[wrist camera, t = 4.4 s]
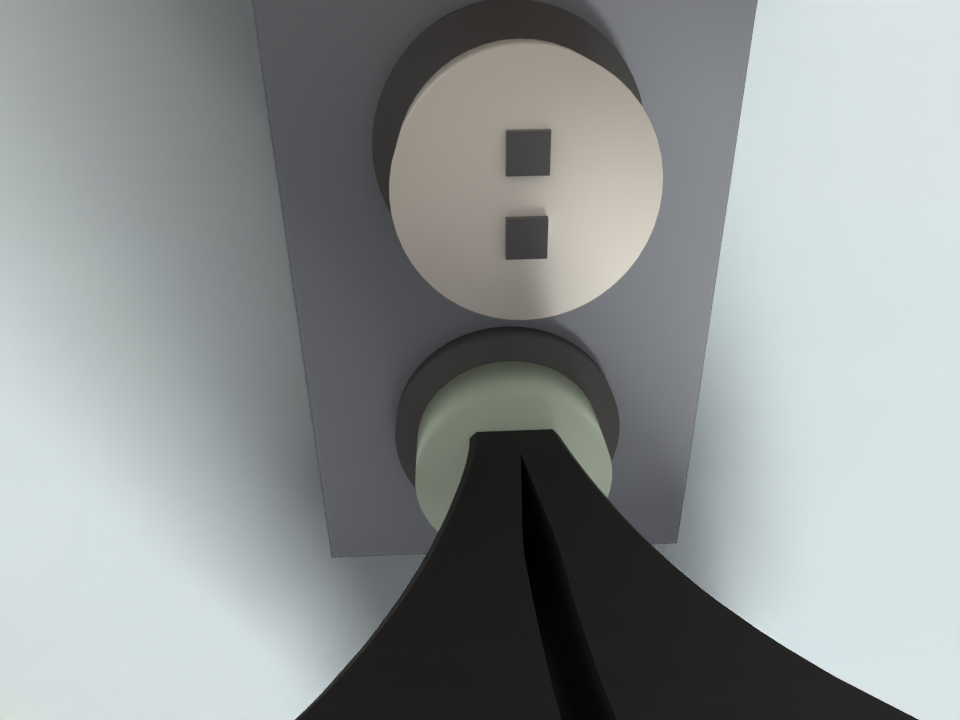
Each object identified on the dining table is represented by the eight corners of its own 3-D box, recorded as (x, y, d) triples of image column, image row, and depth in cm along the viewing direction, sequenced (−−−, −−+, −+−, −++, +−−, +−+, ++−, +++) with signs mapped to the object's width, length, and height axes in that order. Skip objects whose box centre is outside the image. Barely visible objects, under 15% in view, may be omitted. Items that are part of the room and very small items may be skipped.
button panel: (657, 496, 16) (682, 556, 14) (341, 508, 16) (328, 571, 14) (793, -571, 9) (877, -703, 7) (201, -577, 8) (140, -716, 7)
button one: (592, 508, 14) (606, 557, 12) (422, 515, 14) (420, 565, 12) (604, 358, 12) (621, 397, 11) (412, 364, 12) (409, 404, 11)
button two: (627, 281, 10) (651, 318, 9) (402, 287, 10) (397, 327, 9) (649, 36, 9) (680, 45, 8) (386, 40, 9) (377, 50, 8)
